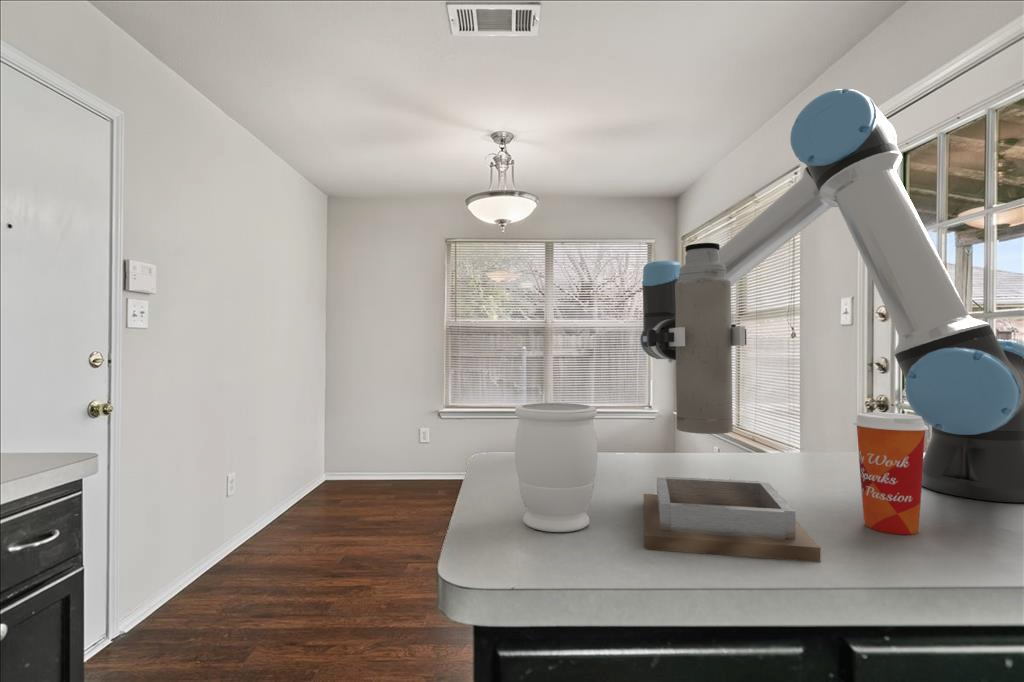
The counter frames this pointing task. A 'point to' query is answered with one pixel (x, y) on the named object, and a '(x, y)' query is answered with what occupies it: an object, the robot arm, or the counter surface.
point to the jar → (556, 464)
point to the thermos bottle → (704, 343)
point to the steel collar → (724, 508)
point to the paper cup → (891, 470)
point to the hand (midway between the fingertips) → (712, 336)
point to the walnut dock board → (725, 539)
